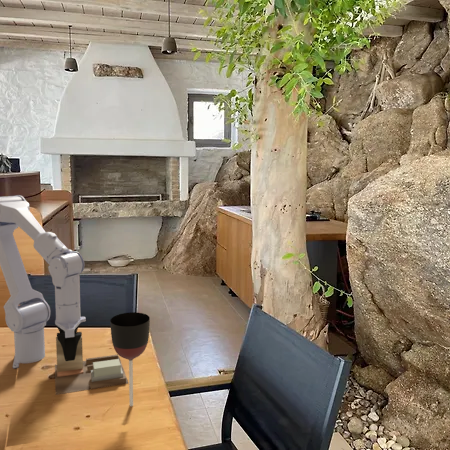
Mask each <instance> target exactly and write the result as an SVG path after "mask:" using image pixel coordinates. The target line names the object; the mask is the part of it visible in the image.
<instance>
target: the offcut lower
mask: <svg viewBox="0 0 450 450" xmlns="http://www.w3.org/2000/svg"><path fill="white" fill-rule="evenodd" d="M121 377H123V371H122V368H121V373H118V374H112V375H105V376H98V377H94V372H93V370H91V380H92V382H95V381H101V380H108V379H115V378H121Z"/></svg>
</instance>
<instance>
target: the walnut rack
mask: <svg viewBox="0 0 450 450" xmlns="http://www.w3.org/2000/svg"><path fill="white" fill-rule="evenodd" d="M114 359H119V361H120V364H121V368H122V371H123V377H121V378H115V379H108V380H101V381H95V382H92V380H91V370H93V362H100V361H107V360H114ZM54 376H55V377H54V379H55V380H54V383H55V386H54V387H55V389H54V390H55V395H57V396H58V395H65V394H69V393H77V392H82V391H89V390H96V389H102V388H108V387H113V386H121V385H126V384H129V379H128V377H127V375H126V373H125V369H124V366H123V363H122V361H121V359H120V356H119V355H118V354H112V355H111V354H110V355H103V356H96V357H90V358H86V359H85V360H83V369H76V370H69V371H62V372H57V364H54Z"/></svg>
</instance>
